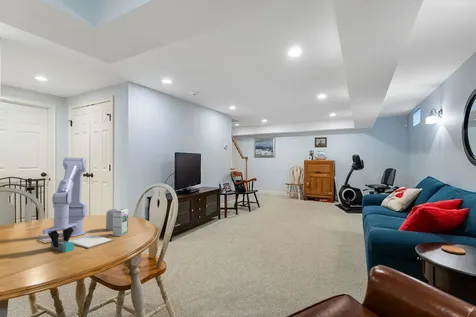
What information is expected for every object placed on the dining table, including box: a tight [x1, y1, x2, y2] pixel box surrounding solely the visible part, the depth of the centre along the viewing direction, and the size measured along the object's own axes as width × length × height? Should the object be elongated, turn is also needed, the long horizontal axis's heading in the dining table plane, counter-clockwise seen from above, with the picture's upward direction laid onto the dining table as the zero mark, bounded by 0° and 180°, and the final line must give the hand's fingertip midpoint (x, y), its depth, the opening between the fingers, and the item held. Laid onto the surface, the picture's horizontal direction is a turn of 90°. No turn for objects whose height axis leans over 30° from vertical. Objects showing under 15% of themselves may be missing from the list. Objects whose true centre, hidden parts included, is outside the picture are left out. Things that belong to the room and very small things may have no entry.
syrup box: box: [112, 208, 129, 237], centre depth 143 cm, size 6×6×14 cm
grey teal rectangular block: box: [50, 238, 75, 253], centre depth 118 cm, size 12×4×4 cm, turn 64°
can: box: [105, 208, 117, 232], centre depth 153 cm, size 8×8×12 cm
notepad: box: [68, 234, 115, 250], centre depth 129 cm, size 19×14×1 cm
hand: (60, 245), depth 119 cm, fingers open, 4 cm apart
